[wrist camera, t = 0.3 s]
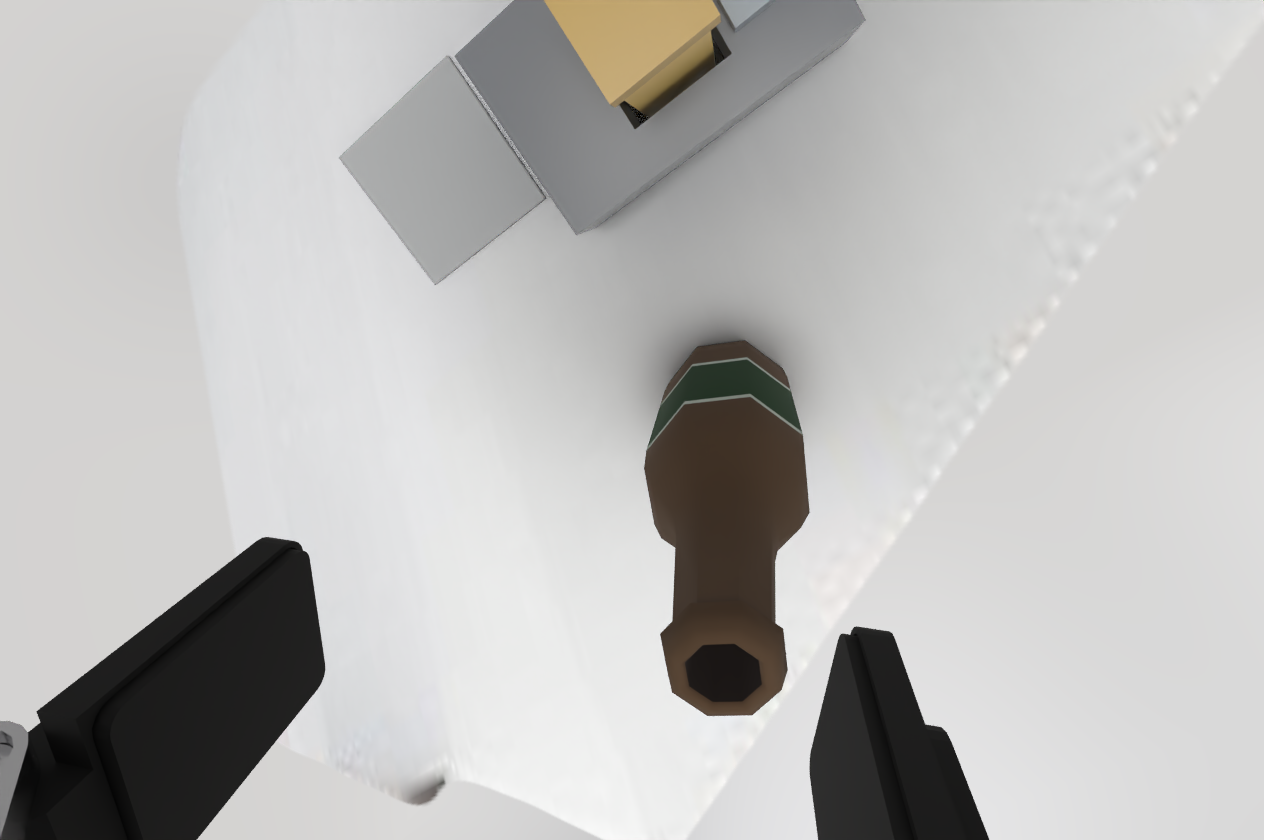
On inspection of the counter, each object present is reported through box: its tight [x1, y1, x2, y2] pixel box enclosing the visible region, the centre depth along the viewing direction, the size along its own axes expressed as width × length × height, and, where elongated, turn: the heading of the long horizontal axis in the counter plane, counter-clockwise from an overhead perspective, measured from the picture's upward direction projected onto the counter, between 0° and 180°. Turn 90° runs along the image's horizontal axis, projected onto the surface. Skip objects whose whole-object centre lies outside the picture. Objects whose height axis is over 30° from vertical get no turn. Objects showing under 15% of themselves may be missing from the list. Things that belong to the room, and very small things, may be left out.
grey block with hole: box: [455, 0, 865, 235], centre depth 30 cm, size 16×10×6 cm, turn 125°
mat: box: [339, 56, 546, 285], centre depth 37 cm, size 9×9×1 cm
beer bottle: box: [644, 341, 809, 716], centre depth 28 cm, size 8×8×24 cm
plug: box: [544, 0, 721, 118], centre depth 28 cm, size 5×5×12 cm
